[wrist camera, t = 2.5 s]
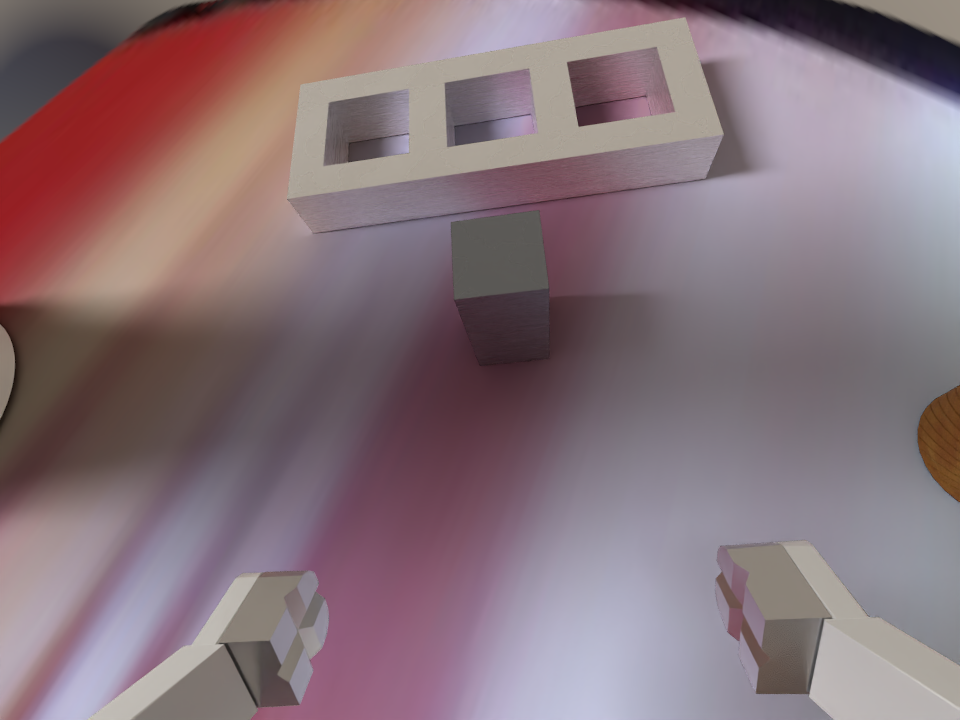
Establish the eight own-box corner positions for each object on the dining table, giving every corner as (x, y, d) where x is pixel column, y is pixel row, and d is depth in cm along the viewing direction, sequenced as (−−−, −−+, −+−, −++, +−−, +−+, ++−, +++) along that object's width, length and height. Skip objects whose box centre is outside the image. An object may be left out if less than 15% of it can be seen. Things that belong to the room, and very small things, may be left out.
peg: (479, 365, 27) (454, 299, 20) (476, 304, 29) (450, 222, 21) (549, 358, 27) (549, 288, 20) (541, 297, 28) (539, 210, 21)
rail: (313, 233, 33) (287, 199, 29) (322, 125, 36) (300, 84, 33) (705, 179, 30) (723, 134, 27) (672, 68, 33) (685, 17, 30)
